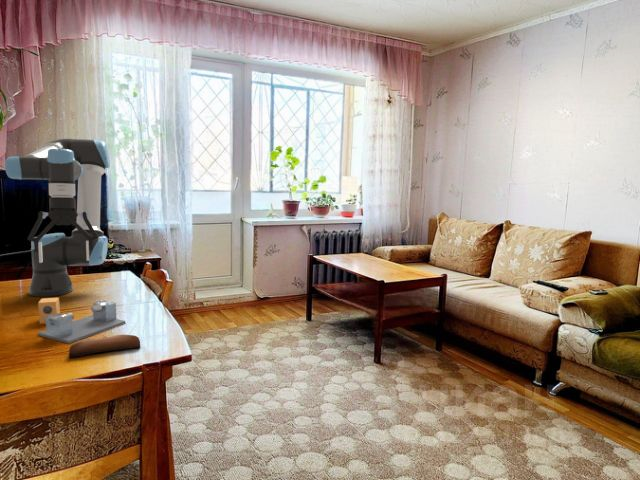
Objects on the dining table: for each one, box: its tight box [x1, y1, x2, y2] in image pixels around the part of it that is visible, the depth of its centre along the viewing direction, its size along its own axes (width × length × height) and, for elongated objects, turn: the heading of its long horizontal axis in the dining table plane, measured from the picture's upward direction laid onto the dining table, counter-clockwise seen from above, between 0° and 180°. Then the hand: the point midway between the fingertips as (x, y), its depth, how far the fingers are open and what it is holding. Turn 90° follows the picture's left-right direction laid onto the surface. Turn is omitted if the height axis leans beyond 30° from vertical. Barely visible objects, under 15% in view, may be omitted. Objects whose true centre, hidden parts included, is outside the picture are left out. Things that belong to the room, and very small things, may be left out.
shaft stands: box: [45, 299, 118, 338], centre depth 142 cm, size 6×20×6 cm, turn 155°
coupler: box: [37, 297, 61, 325], centre depth 149 cm, size 5×5×7 cm
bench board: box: [37, 314, 126, 344], centre depth 142 cm, size 14×20×1 cm
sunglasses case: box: [68, 334, 141, 359], centre depth 128 cm, size 18×7×7 cm
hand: (64, 261), depth 150 cm, fingers open, 13 cm apart
